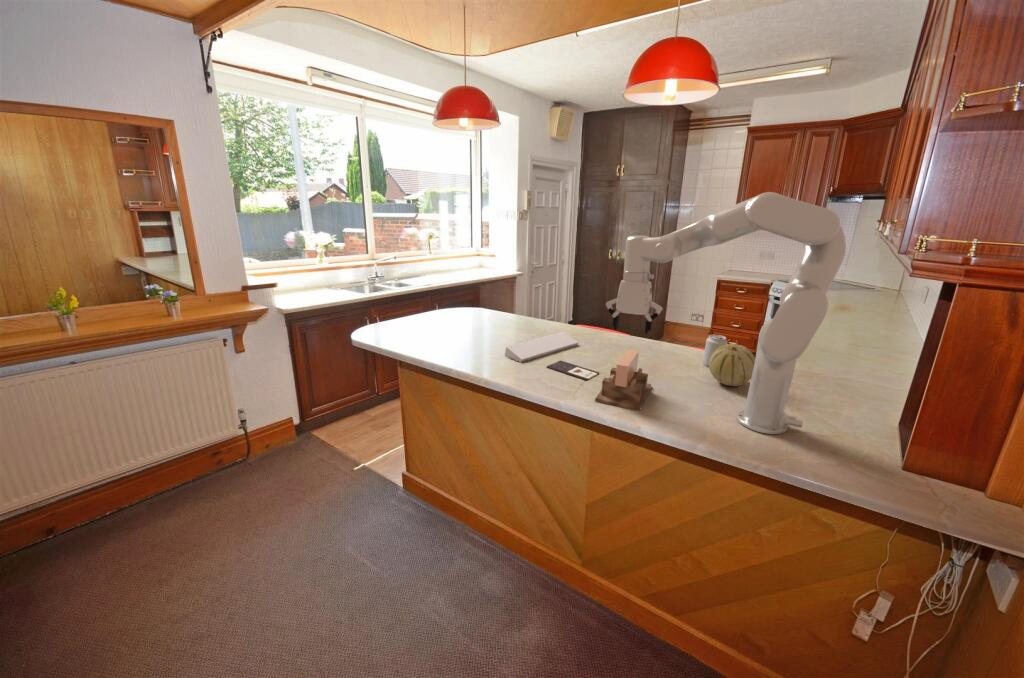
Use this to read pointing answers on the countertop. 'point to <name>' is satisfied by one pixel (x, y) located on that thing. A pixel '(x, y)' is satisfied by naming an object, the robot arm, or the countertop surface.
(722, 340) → the can
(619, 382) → the salmon pink rectangular block
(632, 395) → the brown cradle stand
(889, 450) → the countertop surface
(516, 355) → the decorative molding
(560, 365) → the chocolate bar
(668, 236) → the robot arm
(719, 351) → the cantaloupe
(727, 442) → the countertop surface
